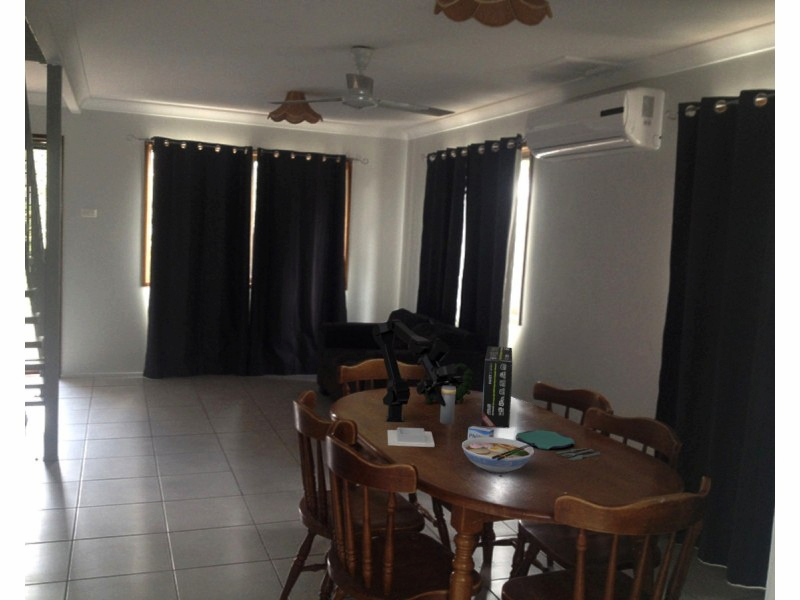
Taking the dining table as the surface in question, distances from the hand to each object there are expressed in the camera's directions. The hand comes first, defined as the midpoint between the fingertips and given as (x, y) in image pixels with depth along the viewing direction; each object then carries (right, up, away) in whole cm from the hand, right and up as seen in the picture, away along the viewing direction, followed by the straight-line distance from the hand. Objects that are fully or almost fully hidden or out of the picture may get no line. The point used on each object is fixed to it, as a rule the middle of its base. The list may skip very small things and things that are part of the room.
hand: (450, 405), depth 257 cm
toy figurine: (+1, -8, +59) cm, 60 cm away
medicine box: (+9, -15, -12) cm, 21 cm away
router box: (+22, -11, +40) cm, 47 cm away
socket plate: (-14, -12, 0) cm, 19 cm away
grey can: (-1, -6, +2) cm, 7 cm away
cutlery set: (+37, -16, 0) cm, 40 cm away
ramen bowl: (+13, -16, -29) cm, 36 cm away
